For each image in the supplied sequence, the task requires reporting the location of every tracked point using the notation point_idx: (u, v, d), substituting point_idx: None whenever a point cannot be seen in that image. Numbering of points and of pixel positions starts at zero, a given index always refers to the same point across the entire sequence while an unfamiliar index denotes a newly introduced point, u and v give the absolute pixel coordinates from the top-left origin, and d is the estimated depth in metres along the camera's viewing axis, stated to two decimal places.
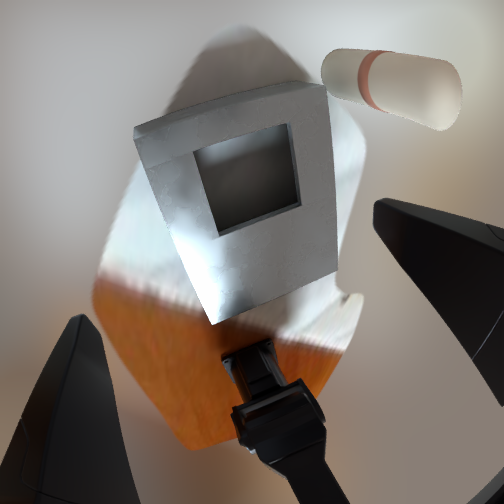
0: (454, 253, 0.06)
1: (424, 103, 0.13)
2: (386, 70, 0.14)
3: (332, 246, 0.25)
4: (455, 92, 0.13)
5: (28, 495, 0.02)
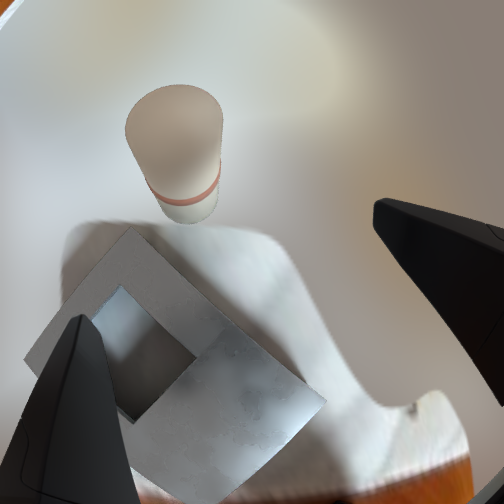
0: (454, 253, 0.06)
1: (145, 153, 0.12)
2: None
3: (287, 380, 0.17)
4: (192, 101, 0.12)
5: (28, 495, 0.02)
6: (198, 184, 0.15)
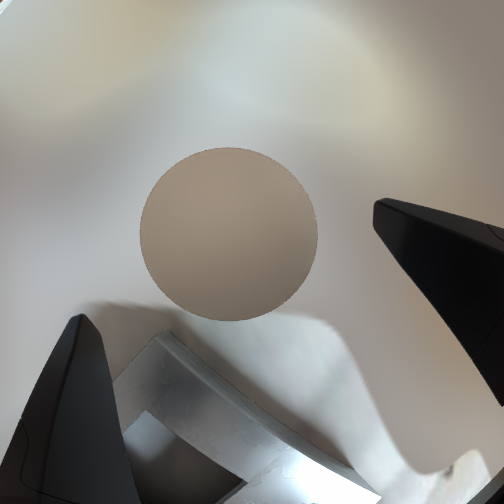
0: (454, 253, 0.06)
1: (185, 296, 0.07)
2: None
3: (346, 488, 0.12)
4: (260, 186, 0.08)
5: (28, 495, 0.02)
6: None
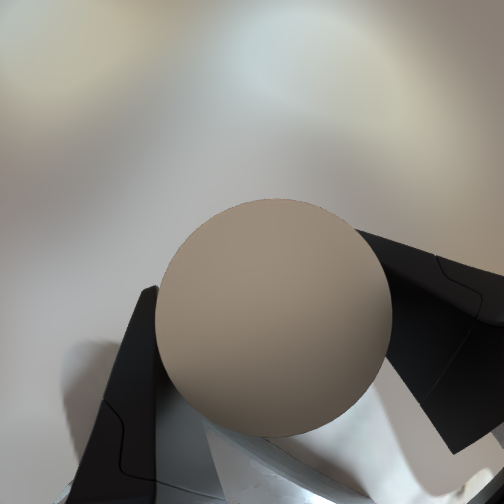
0: (391, 291, 0.06)
1: (225, 413, 0.05)
2: None
3: None
4: (325, 259, 0.05)
5: (137, 487, 0.03)
6: None
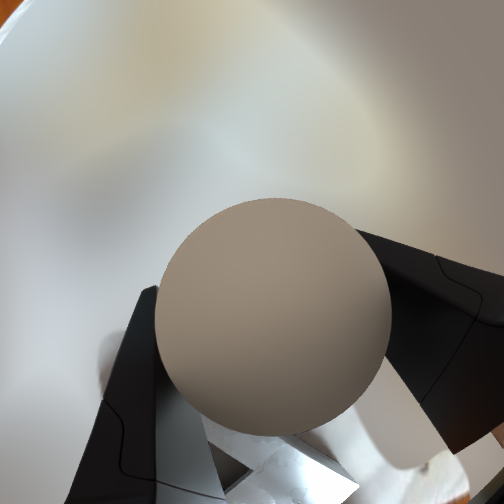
0: (391, 291, 0.06)
1: (225, 412, 0.05)
2: None
3: (329, 477, 0.16)
4: (324, 258, 0.05)
5: (137, 487, 0.03)
6: None
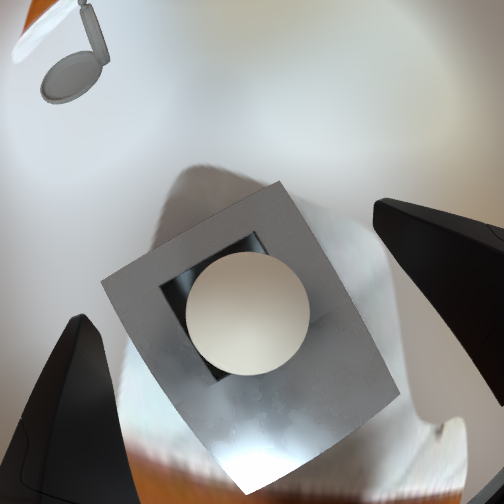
0: (454, 253, 0.06)
1: (220, 360, 0.10)
2: None
3: (378, 365, 0.17)
4: (271, 283, 0.11)
5: (28, 495, 0.02)
6: None
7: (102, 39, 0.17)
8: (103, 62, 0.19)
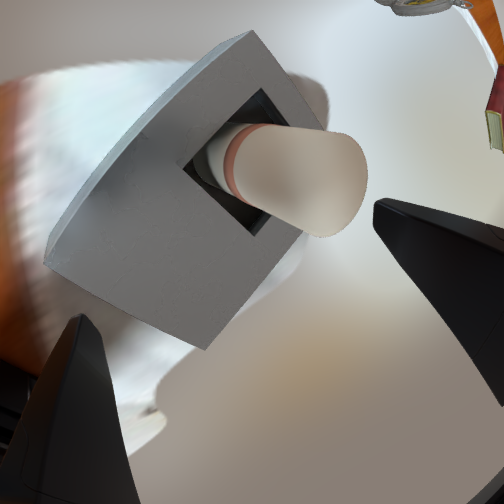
0: (454, 253, 0.06)
1: (301, 173, 0.11)
2: (271, 132, 0.13)
3: (227, 315, 0.20)
4: (352, 195, 0.13)
5: (28, 494, 0.02)
6: (260, 206, 0.14)
7: (423, 14, 0.17)
8: (398, 11, 0.18)
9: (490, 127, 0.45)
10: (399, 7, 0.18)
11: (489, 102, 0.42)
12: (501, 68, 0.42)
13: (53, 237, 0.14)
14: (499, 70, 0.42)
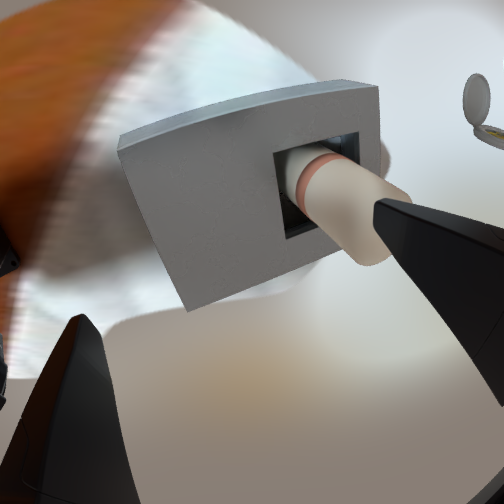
0: (454, 253, 0.06)
1: (373, 205, 0.13)
2: (357, 167, 0.15)
3: (225, 292, 0.21)
4: None
5: (28, 495, 0.02)
6: (318, 215, 0.16)
7: (495, 146, 0.22)
8: (478, 134, 0.24)
9: None
10: (480, 131, 0.23)
11: None
12: None
13: (132, 137, 0.15)
14: None
